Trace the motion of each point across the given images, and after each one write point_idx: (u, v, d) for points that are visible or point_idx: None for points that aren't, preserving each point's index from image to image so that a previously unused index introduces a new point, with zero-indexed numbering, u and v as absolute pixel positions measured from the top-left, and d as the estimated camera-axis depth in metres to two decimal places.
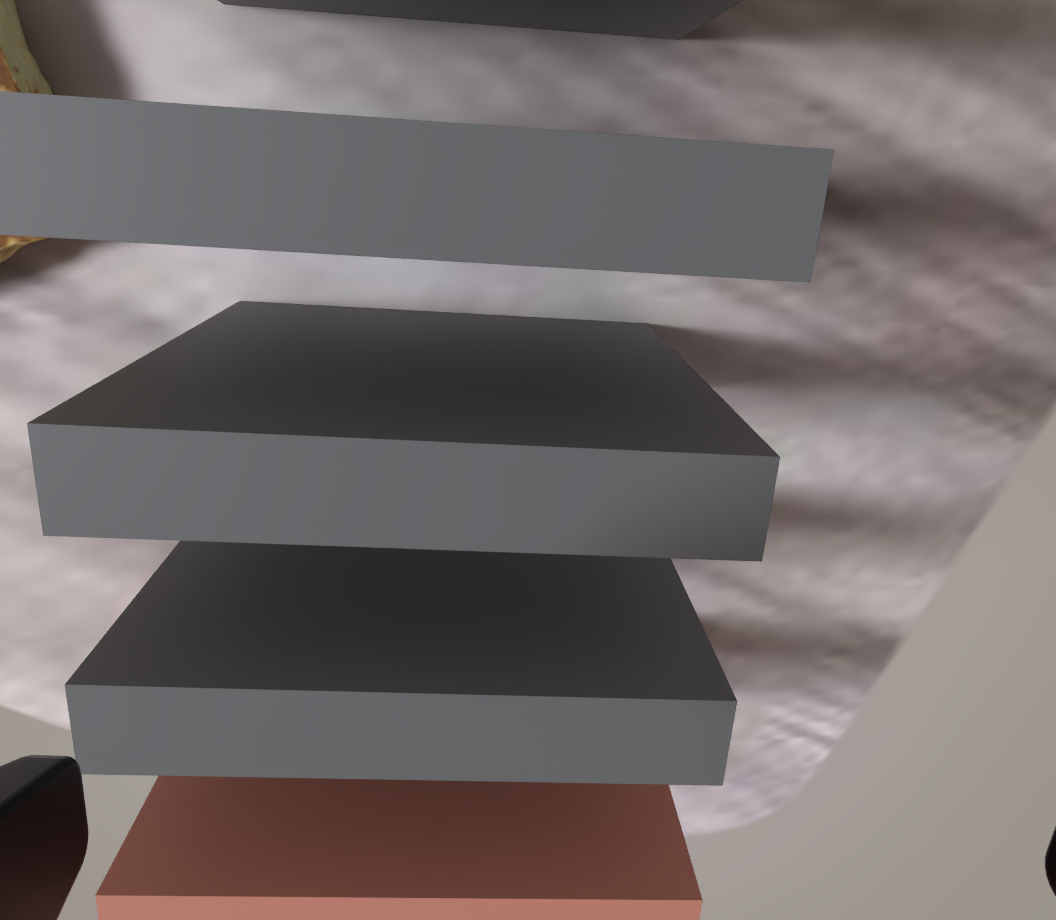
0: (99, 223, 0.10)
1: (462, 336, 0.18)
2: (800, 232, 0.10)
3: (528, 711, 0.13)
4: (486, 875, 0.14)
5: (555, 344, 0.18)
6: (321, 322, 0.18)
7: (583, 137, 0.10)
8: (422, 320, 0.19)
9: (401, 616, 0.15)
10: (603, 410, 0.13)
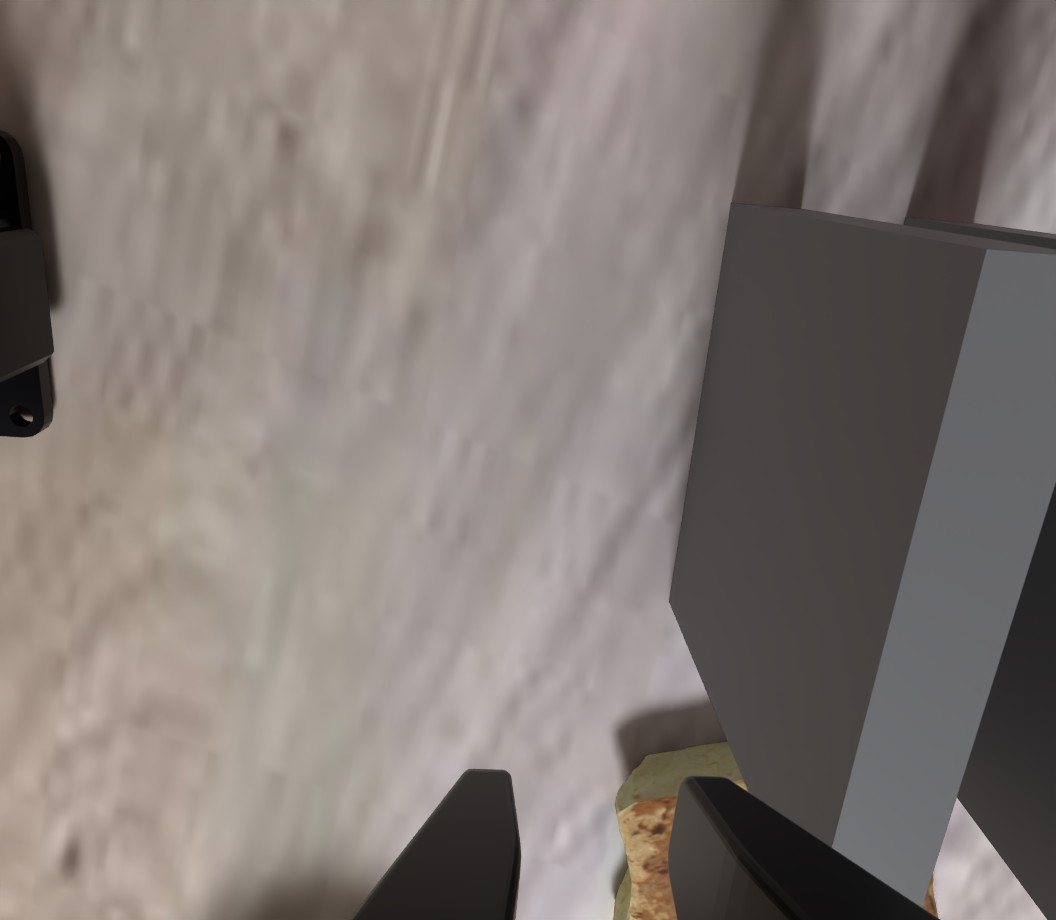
0: None
1: None
2: None
3: None
4: None
5: None
6: None
7: None
8: None
9: None
10: None
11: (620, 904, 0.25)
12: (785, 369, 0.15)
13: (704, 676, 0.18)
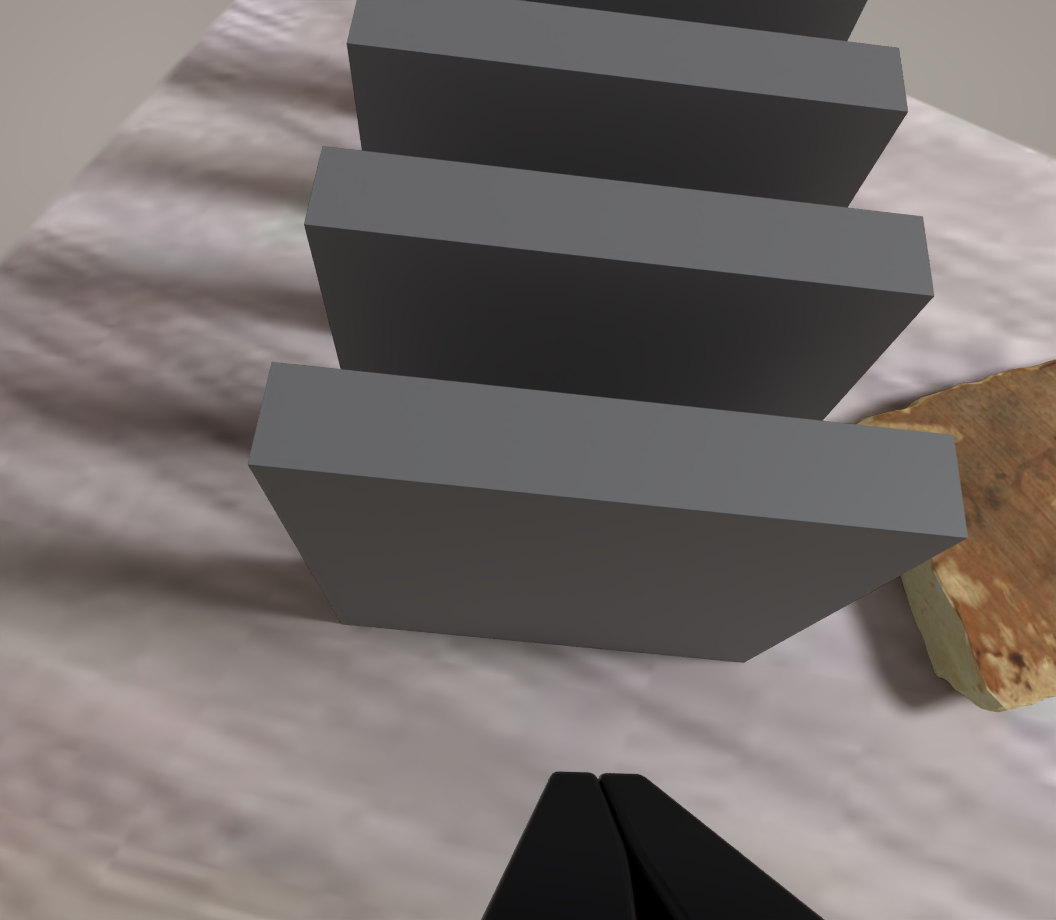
0: (854, 217, 0.14)
1: None
2: (330, 176, 0.13)
3: None
4: None
5: None
6: None
7: (501, 243, 0.13)
8: None
9: None
10: (471, 139, 0.16)
11: None
12: (443, 581, 0.16)
13: (789, 631, 0.17)
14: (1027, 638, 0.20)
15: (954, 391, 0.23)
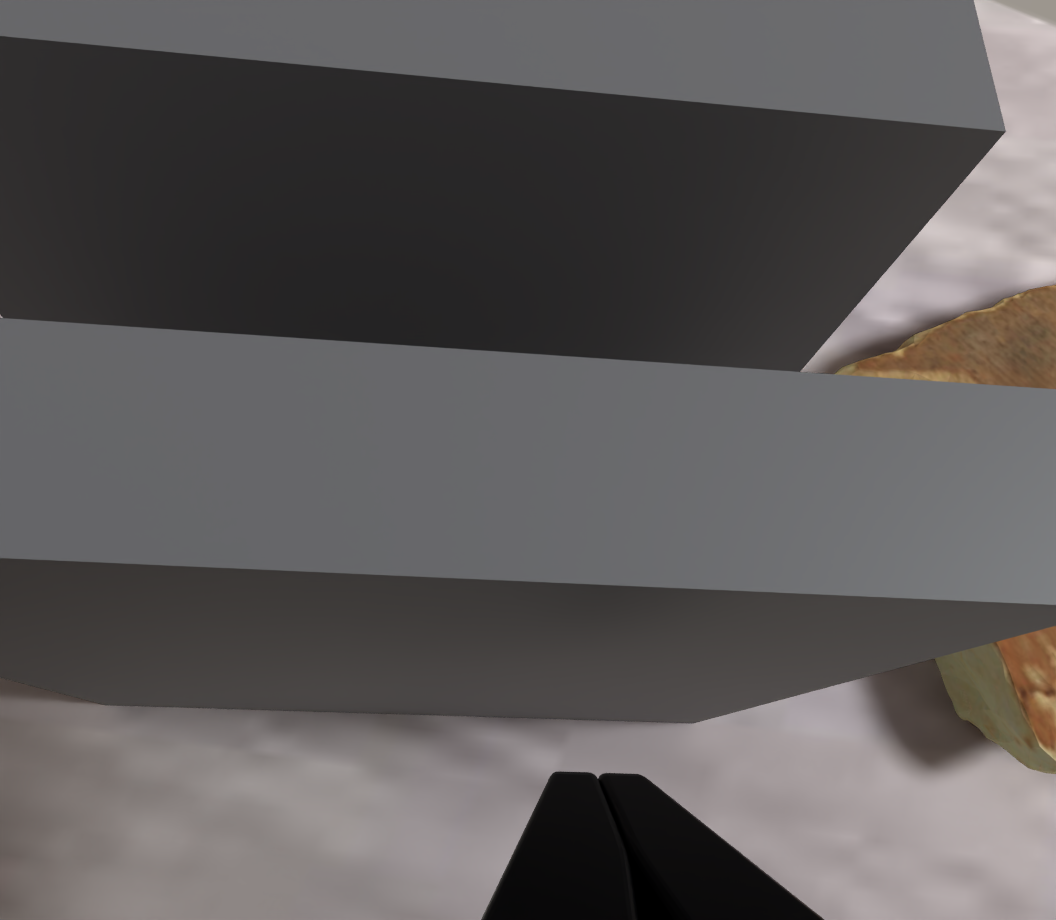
0: None
1: None
2: None
3: None
4: None
5: None
6: None
7: (153, 44, 0.06)
8: None
9: None
10: None
11: None
12: (181, 670, 0.10)
13: (755, 702, 0.11)
14: None
15: (960, 323, 0.17)
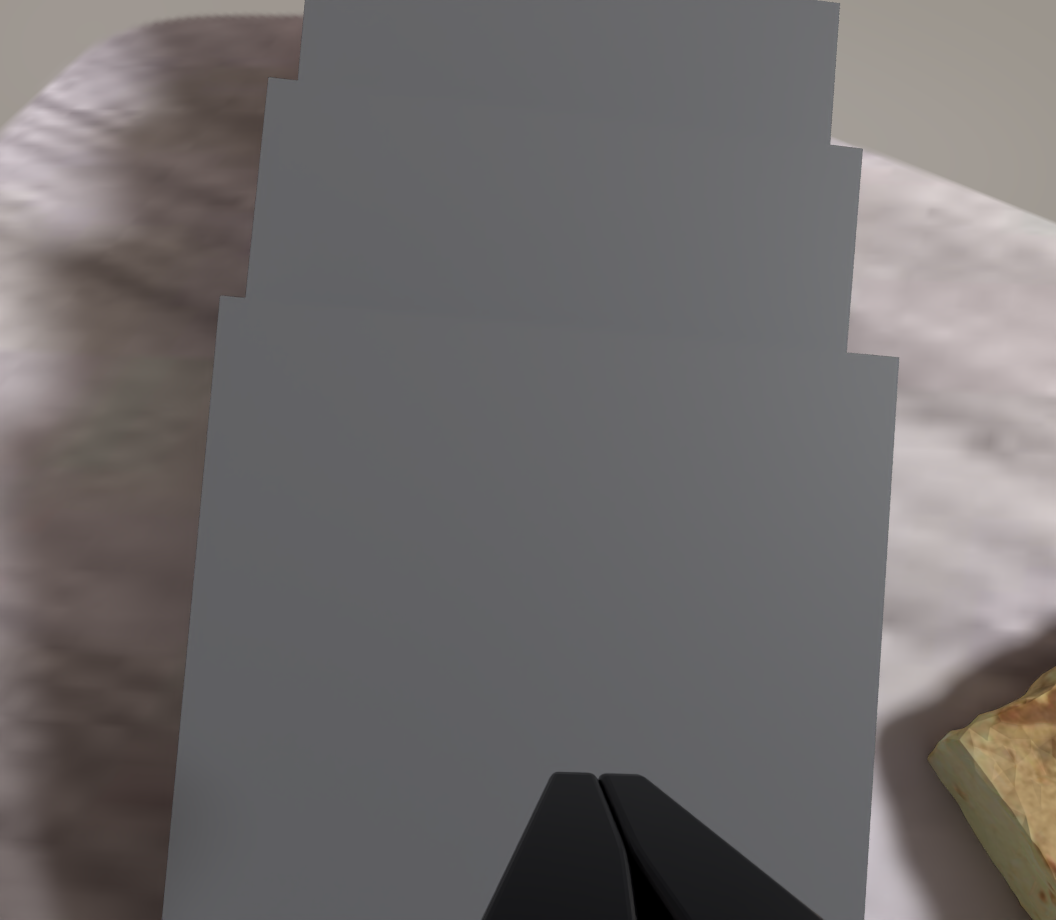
0: None
1: None
2: None
3: None
4: None
5: None
6: None
7: (456, 100, 0.14)
8: None
9: None
10: (422, 54, 0.15)
11: None
12: (371, 666, 0.12)
13: (860, 785, 0.12)
14: None
15: None
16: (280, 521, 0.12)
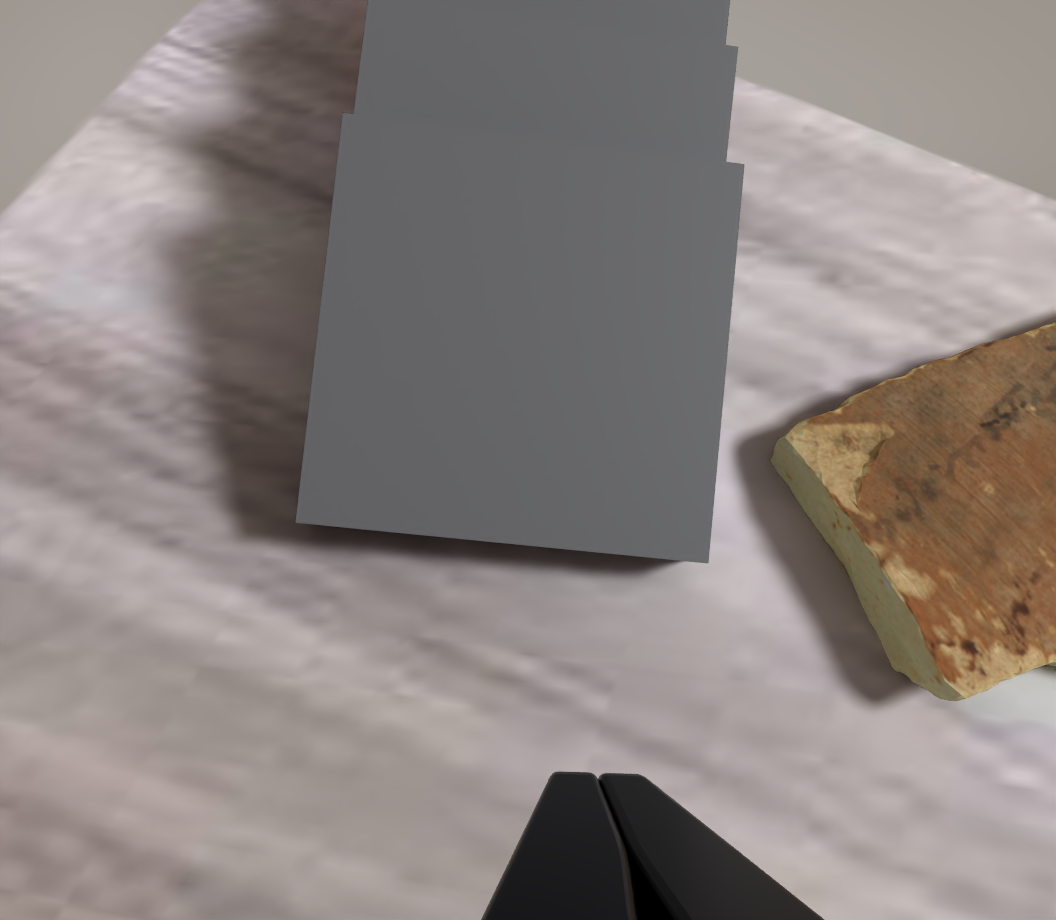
0: None
1: None
2: None
3: None
4: None
5: None
6: None
7: (484, 10, 0.22)
8: None
9: None
10: None
11: None
12: (426, 330, 0.20)
13: (714, 415, 0.21)
14: (976, 624, 0.20)
15: (881, 388, 0.23)
16: (375, 244, 0.20)
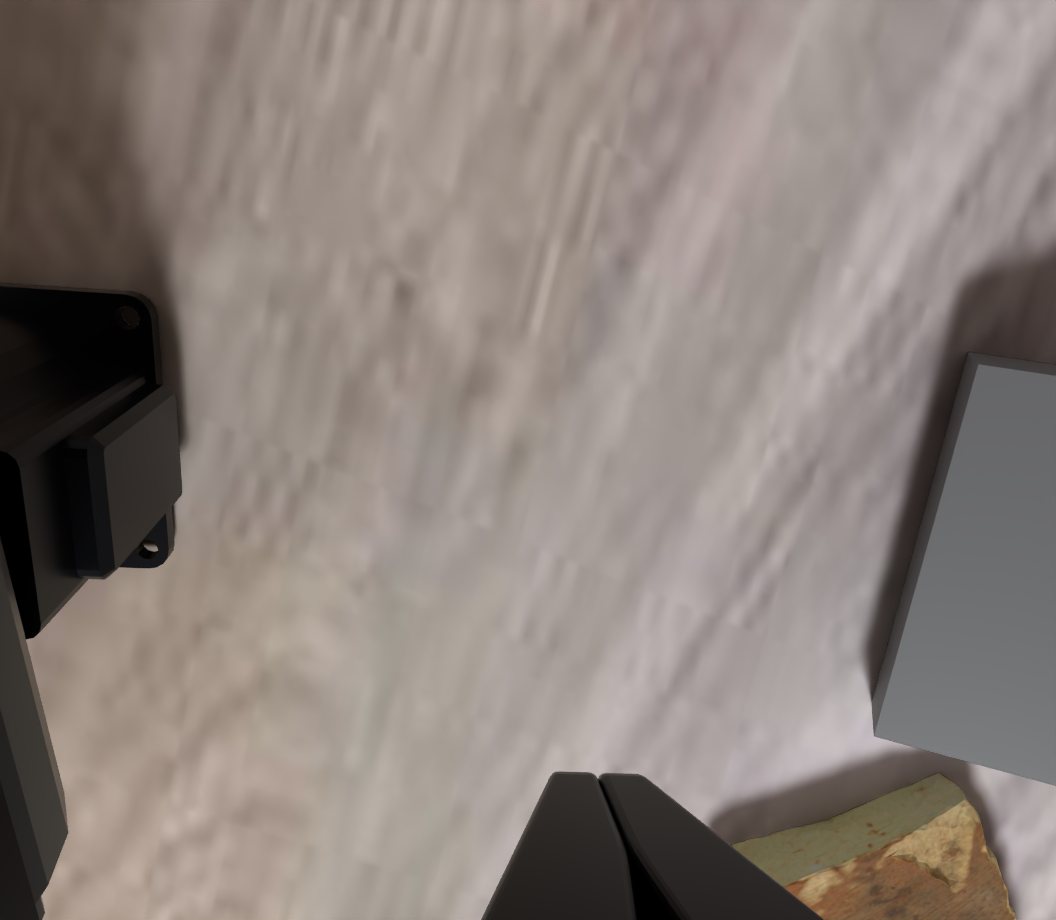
0: None
1: None
2: None
3: None
4: None
5: None
6: None
7: None
8: None
9: None
10: None
11: None
12: None
13: (1029, 772, 0.21)
14: None
15: (1000, 886, 0.24)
16: None
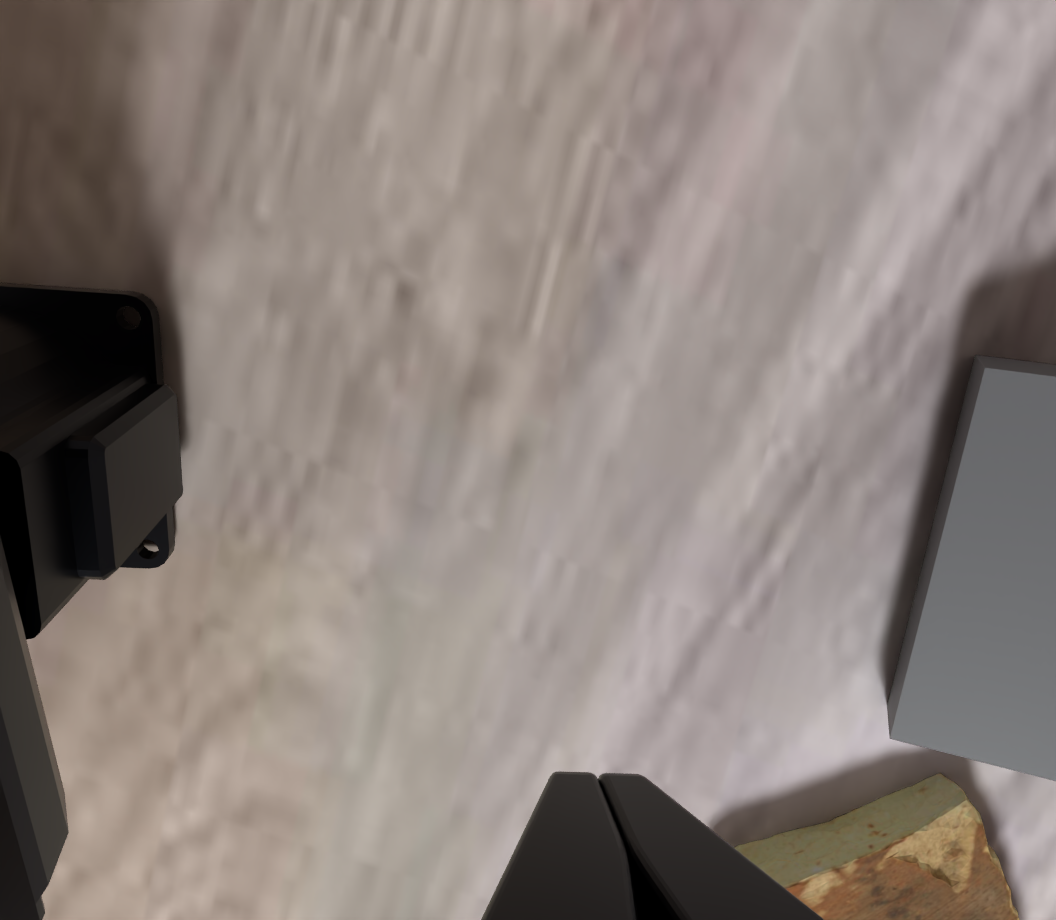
0: None
1: None
2: None
3: None
4: None
5: None
6: None
7: None
8: None
9: None
10: None
11: None
12: None
13: (1047, 772, 0.21)
14: None
15: (1003, 886, 0.24)
16: None
